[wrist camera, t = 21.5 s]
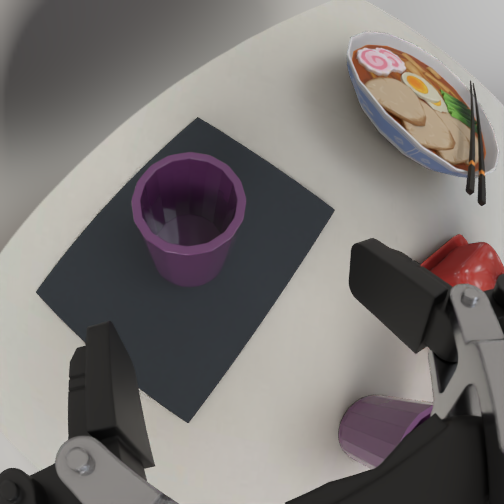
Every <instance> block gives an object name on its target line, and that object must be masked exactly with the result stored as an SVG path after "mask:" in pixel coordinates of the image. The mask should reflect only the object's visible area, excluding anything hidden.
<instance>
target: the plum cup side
mask: <svg viewBox="0 0 504 504" xmlns="http://www.w3.org/2000/svg"><path fill="white" fill-rule="evenodd" d="M432 408H433V402H426V401H418V400H411V399H403V398H397V397H390V396H384V395H370V396H366V397H363V398H361V399H360V400H358V401H357V402H355V403H354V404H353V405H352V406H351V407H350V408H349V409H348V410H347V412H346V413H345V415H344V416H343V418H342V420H341V423H340V427H339V433H338V436H339V443H340V446H341V448H342V450H343V451H344V452H345V453H346V454H347V455H348V456H350V457H351V458H352V459H354V460H356V461H358V462H359V463H361V464H363V465H365V466H367V467H368V468H370V469H374V468H376V467H377V466H379V465H380V464H381V463H382V462H383V461H384V460H385V459H386V457H387V456H388V455H389V454H390V453H391V452H392V451H393V450H394V449H395V447H396V446H397V445H398V444H399V443H400V442H401V441H402V439H403V438H404V437H405V436H406V435H407V434H408V433H410V432H411V431H412V430H414V429H415V428H416V427H418V426H419V425H420V424H422V423H423V422H424V421H426V420H427V419H428V418H429V417H430V416H431V412H432Z"/></svg>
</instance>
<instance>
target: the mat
mask: <svg viewBox="0 0 504 504" xmlns="http://www.w3.org/2000/svg"><path fill="white" fill-rule="evenodd" d="M186 152H194V153H200V154H206V155H210V156H213V157H214V158H216V159H218V160H220V161H222V162H223V163H225V164H227V165H228V166H229V167H230V168H231V169H232V170H233V172H234V173H235V174H236V175H237V177H238V178H239V179H240V180H241V182H242V186H243V189H244V193H245V196H246V207H245V214H244V220H243V222H242V225H241V227H240V230H239V232H238V235H237V237H236V240H235V243H234V245H233V248H232V250H231V253H230V255H229V258H228V260H227V262H226V264H225V266H224V268H223V269H222V271H221V272H220V273H219V274H218V275H217V276H216V277H215V278H214V279H213V280H211V281H210V282H208V283H206V284H203V285H200V286H196V287H183V286H178V285H175V284H173V283H171V282H169V281H167V280H166V279H165V278H163V277H162V276H161V275H160V274H159V272H158V271H157V270H156V268H155V266H154V265H153V263H152V261H151V259H150V257H149V255H148V252H147V250H146V248H145V246H144V243H143V241H142V239H141V236H140V234H139V232H138V229H137V227H136V225H135V222H134V218H133V211H132V202H131V201H132V197H133V193H134V190H135V187H136V184H137V182H138V180H139V179H140V177H141V176H142V175H143V174H144V173H145V172H146V170H147V169H148V168H149V167H150V166H151V165H152V164H154V163H156V162H158V161H160V160H161V159H163V158H165V157H167V156H170V155H173V154H179V153H186ZM334 211H335V210H334V209H333V208H332V207H330V206H329V205H328V204H326V203H325V202H324V201H322V200H321V199H320V198H318V197H317V196H315V195H314V194H313V193H311V192H310V191H309V190H307V189H306V188H304V187H303V186H302V185H300V184H299V183H297V182H296V181H295V180H293V179H292V178H290V177H289V176H287V175H286V174H285V173H283V172H282V171H280V170H279V169H277V168H276V167H274V166H273V165H272V164H270V163H269V162H267V161H266V160H264V159H263V158H261V157H260V156H258V155H257V154H255V153H254V152H252V151H251V150H249V149H248V148H246V147H245V146H243V145H242V144H240V143H238V142H237V141H235V140H234V139H232V138H231V137H229V136H227V135H226V134H224V133H223V132H221V131H220V130H218V129H216V128H215V127H213V126H211V125H210V124H208V123H207V122H205V121H203V120H202V119H200V118H198V117H197V118H196V119H195V120H194V121H193V122H192V123H190V124H189V125H188V126H187V127H186V128H185V129H184V130H182V131H181V132H180V133H179V134H178V135H177V136H176V137H175V138H173V139H172V140H171V141H170V142H169V143H168V144H167V145H166V146H165V147H164V148H163V149H161V150H160V151H159V152H158V153H157V154H156V155H155V156H154V157H153V158H152V159H151V160H150V161H149V162H148V163H147V164H146V165H145V166H144V167H143V168H142V169H141V170H140V171H139V172H138V173H137V174H136V175H135V176H134V177H133V178H132V179H131V180H130V181H129V182H128V183H127V184H126V185H125V186H124V187H123V188H122V189H121V190H120V191H119V192H118V193H117V194H116V195H115V196H114V197H113V199H112V200H111V201H110V202H109V203H108V204H107V205H106V206H105V207H104V208H103V209H102V211H101V212H100V213H99V214H98V215H97V216H96V217H95V218H94V220H93V221H92V222H91V223H90V224H89V225H88V226H87V228H86V229H85V230H84V231H83V232H82V233H81V235H80V236H79V237H78V238H77V239H76V241H75V242H74V243H73V244H72V246H71V247H70V248H69V249H68V250H67V252H66V253H65V254H64V255H63V257H62V258H61V259H60V261H59V262H58V263H57V264H56V266H55V267H54V268H53V270H52V271H51V272H50V274H49V275H48V276H47V278H46V279H45V280H44V282H43V283H42V284H41V286H40V287H39V289H38V290H37V291H36V293H37V294H38V295H39V296H40V297H41V298H42V299H43V300H44V302H45V303H46V304H47V305H48V306H49V307H50V308H51V309H52V310H53V311H54V312H55V313H56V314H57V315H58V316H59V317H60V318H61V319H62V320H63V321H64V322H65V323H66V324H67V325H68V326H69V327H70V328H71V329H72V330H73V331H74V332H75V333H76V334H77V335H78V336H79V337H80V338H81V339H82V340H83V341H84V342H85V343H86V330H87V327H89V326H93V325H96V324H100V323H103V322H107V321H111V322H112V323H113V324H114V326H115V328H116V330H117V332H118V334H119V336H120V338H121V340H122V342H123V344H124V346H125V348H126V350H127V352H128V354H129V356H130V358H131V360H132V363H133V365H134V369H135V372H136V378H137V384H138V388H140V389H141V390H142V391H144V392H145V393H146V394H147V395H149V396H150V397H151V398H153V399H154V400H156V401H157V402H158V403H160V404H161V405H162V406H164V407H165V408H167V409H168V410H169V411H171V412H172V413H174V414H175V415H177V416H178V417H180V418H181V419H183V420H184V421H186V422H187V423H189V421H190V420H191V419H192V418H193V416H194V415H195V414H196V412H197V411H198V410H199V408H200V407H201V406H202V404H203V403H204V402H205V400H206V399H207V398H208V396H209V395H210V393H211V392H212V391H213V389H214V388H215V387H216V385H217V384H218V383H219V381H220V380H221V379H222V377H223V376H224V374H225V373H226V372H227V370H228V369H229V367H230V366H231V365H232V363H233V362H234V360H235V359H236V358H237V356H238V355H239V353H240V352H241V351H242V349H243V348H244V346H245V345H246V344H247V342H248V341H249V339H250V338H251V336H252V335H253V334H254V332H255V331H256V329H257V328H258V326H259V325H260V324H261V322H262V321H263V319H264V318H265V316H266V315H267V313H268V312H269V310H270V309H271V307H272V306H273V305H274V303H275V302H276V300H277V299H278V297H279V296H280V294H281V293H282V291H283V290H284V288H285V287H286V285H287V284H288V282H289V281H290V279H291V278H292V276H293V275H294V273H295V272H296V270H297V269H298V267H299V265H300V264H301V262H302V261H303V259H304V258H305V256H306V255H307V253H308V252H309V250H310V249H311V247H312V245H313V244H314V242H315V241H316V239H317V238H318V236H319V234H320V233H321V231H322V230H323V228H324V227H325V225H326V223H327V222H328V220H329V219H330V217H331V215H332V214H333V212H334Z"/></svg>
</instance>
